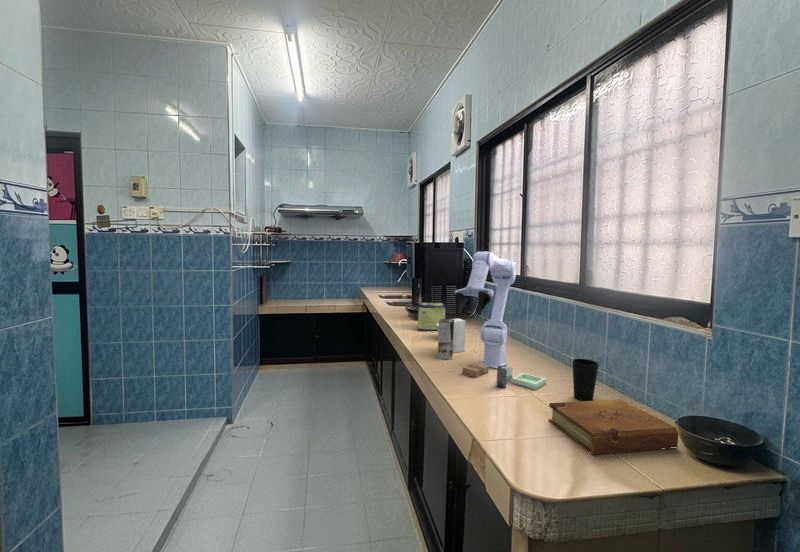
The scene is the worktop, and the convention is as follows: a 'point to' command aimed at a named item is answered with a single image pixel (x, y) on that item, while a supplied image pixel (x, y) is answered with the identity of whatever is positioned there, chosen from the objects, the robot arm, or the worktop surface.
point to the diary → (612, 426)
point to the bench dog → (509, 375)
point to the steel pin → (501, 376)
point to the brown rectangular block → (475, 370)
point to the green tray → (528, 381)
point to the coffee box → (445, 339)
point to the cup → (584, 378)
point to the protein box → (430, 315)
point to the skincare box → (459, 335)
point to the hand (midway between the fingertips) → (467, 313)
